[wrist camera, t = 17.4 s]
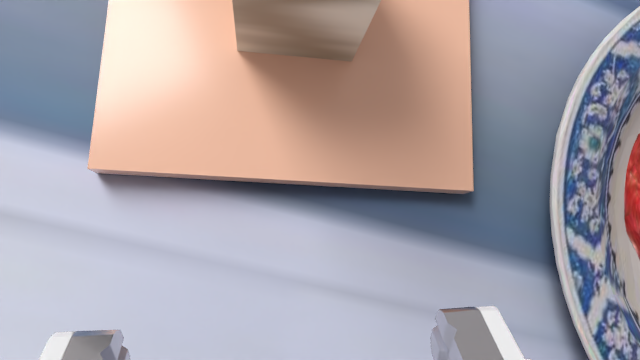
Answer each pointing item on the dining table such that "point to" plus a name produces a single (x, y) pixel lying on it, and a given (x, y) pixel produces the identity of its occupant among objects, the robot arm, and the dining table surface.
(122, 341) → the robot arm
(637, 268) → the ceramic plate
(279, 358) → the dining table surface
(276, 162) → the terracotta tile
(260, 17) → the ash block
